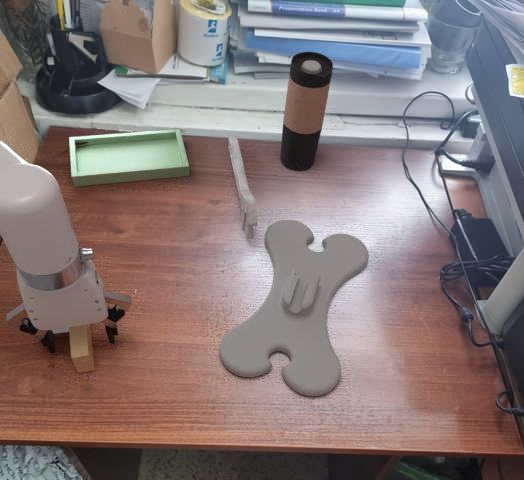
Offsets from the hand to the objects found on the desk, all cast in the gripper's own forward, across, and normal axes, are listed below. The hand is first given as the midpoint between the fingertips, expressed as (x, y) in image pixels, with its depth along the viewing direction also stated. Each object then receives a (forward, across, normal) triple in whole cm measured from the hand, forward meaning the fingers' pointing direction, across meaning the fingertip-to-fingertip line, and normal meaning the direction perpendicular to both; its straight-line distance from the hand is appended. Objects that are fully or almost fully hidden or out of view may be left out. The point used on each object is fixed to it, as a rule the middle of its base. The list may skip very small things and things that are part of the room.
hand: (82, 340), depth 77 cm
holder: (+1, -35, -1) cm, 35 cm away
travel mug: (+1, -45, -37) cm, 59 cm away
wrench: (+1, -31, -29) cm, 43 cm away
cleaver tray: (+1, -12, -42) cm, 44 cm away
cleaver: (+1, +2, -3) cm, 4 cm away
